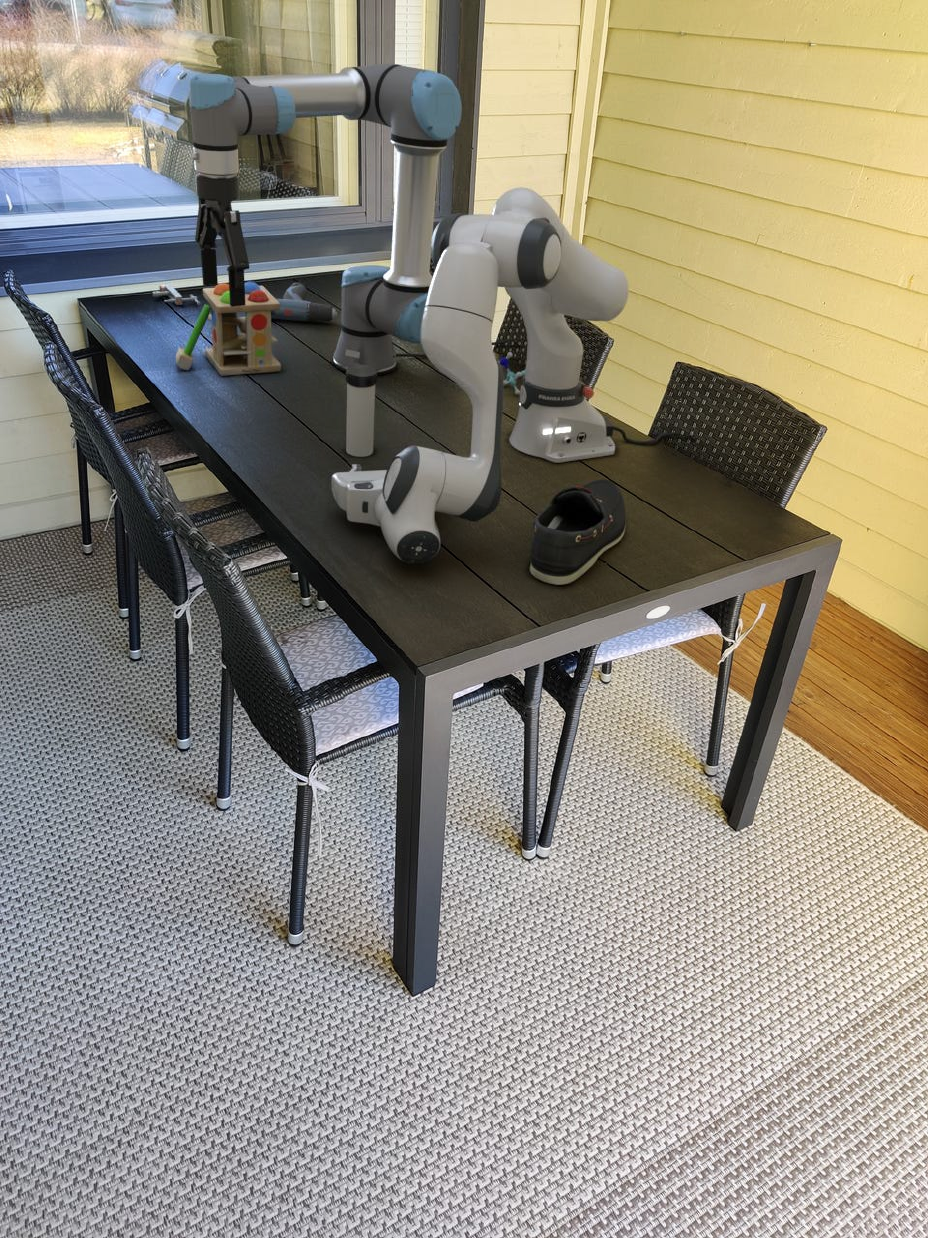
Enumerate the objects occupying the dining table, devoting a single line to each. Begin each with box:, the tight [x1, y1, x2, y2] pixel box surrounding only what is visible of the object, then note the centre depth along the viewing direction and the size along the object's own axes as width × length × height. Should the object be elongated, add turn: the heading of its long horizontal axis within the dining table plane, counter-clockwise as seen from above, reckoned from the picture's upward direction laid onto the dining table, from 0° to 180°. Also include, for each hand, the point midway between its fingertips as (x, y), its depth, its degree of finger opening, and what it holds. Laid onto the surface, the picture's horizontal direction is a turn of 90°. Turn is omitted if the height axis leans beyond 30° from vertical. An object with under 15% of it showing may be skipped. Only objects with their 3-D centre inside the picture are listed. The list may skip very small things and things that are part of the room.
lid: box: [345, 366, 378, 387], centre depth 189 cm, size 6×6×2 cm
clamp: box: [152, 284, 202, 306], centre depth 265 cm, size 15×2×10 cm
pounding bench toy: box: [174, 281, 282, 377], centre depth 225 cm, size 23×14×18 cm, turn 116°
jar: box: [345, 382, 376, 458], centre depth 193 cm, size 5×5×16 cm
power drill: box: [271, 282, 338, 322], centre depth 265 cm, size 5×19×20 cm
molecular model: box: [497, 351, 527, 396], centre depth 231 cm, size 12×10×10 cm
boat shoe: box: [529, 479, 627, 586], centre depth 172 cm, size 13×33×10 cm, turn 147°
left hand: (223, 294), depth 186 cm, fingers open, 13 cm apart
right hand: (381, 466), depth 179 cm, fingers open, 8 cm apart
